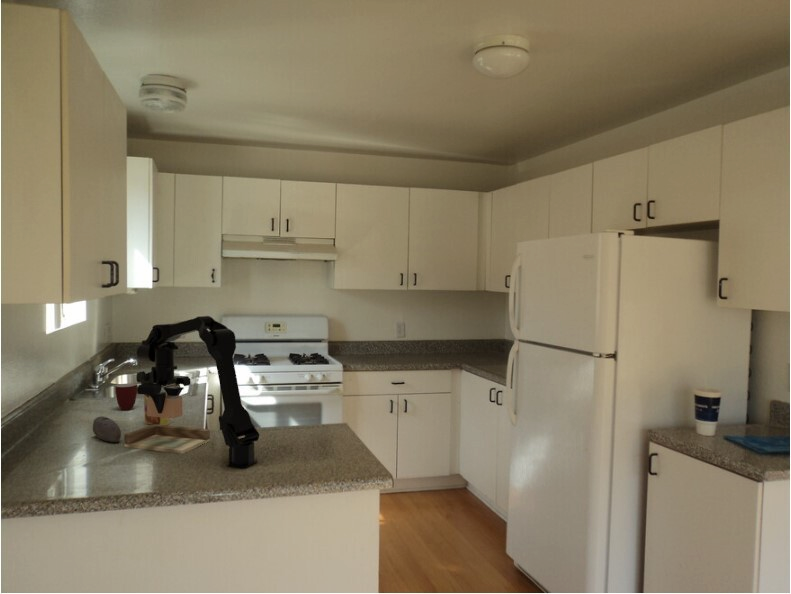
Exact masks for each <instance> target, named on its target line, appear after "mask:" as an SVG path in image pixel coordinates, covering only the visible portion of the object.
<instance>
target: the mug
mask: <svg viewBox="0 0 791 594" xmlns="http://www.w3.org/2000/svg"><path fill="white" fill-rule="evenodd" d="M114 387H115V388H114V389H115V391H114V392H115V396H116V398H115V399H116V401H117V405H118V407H119V409H120V410H121V411H126V412H127V411H131V410H133V408H134V406H135V404H136V400H137V395H138V394H137V387H138V384H137V383H120V384H116V385H115V386H114Z"/></svg>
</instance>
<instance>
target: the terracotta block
mask: <svg viewBox="0 0 791 594" xmlns="http://www.w3.org/2000/svg"><path fill="white" fill-rule="evenodd" d="M183 403H184V402H183V396H181V395H179V396H168V395H166V397H165V402H164V407H163V411H162V413H161V414H159V413H158V411H157V409H156V406H155V404H154V401H153V399H152V398H151V397H147V416H153V417H163V418H169V419H175V418H178V417H182V416H183V414H184V413H183V412H184V411H183V410H184V409H183V408H184V407H183Z"/></svg>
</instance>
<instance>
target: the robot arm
mask: <svg viewBox="0 0 791 594" xmlns="http://www.w3.org/2000/svg"><path fill="white" fill-rule="evenodd" d="M195 332H198V335H199V339H200V340H201V341H202V342H204V344H205V345H206V349H207V352H208V354H209V355H210V356H211V358H212V359H213V360H214V362H215V366H216V369H217V370H216V371H217V375H218V376H217V377H218V381H219V386H220V387H219V388H220V392H221V397H222V402H223V409H224V410H223V413H222V415H219V416H218V422H219V425H220V428H219V431H221V433H222V436H223V439H224V444H225V446H226V447H228V463H227V464H226V466H227V467H234V468H243V469H247V468H249V467H251V466H252V465H254V464H255V463H257V462H258V460H257V459H255V442H258V441H259V440H260V439H259V438H260V433H259V431H258V430H257V429H256V427H255V426H254V424H253V423H252V419H251V416H250V414H249V412H248V411H247V409H246V408H245V407H244V406H243V403H242V400H241V395H240V389H239V383H238V377H237V374H236V368H235V362H234V355H235V352H236V349H237V343H236V335H235V332H234V331H233V330H231V329H230V328H228V327H227V326H226V325H225V324H222V323H220V322H219V321H216V319H214V318H213V317H212V316H210V315H204V316H196V317H195V318H191V319H188V320H184V321H180V322H176V323H175V322H174V323H162V324H154V325H153V326H152V329H151V330H150V332H149V334H148V336H147V338H146V339H144V340H142V341H141V344H140V345H139V346H138V348H137V349H136V356H137V357H136V358H137V359H138V360H140V361H143V362H151V363H154V366H152V367H151V371H149V372H145V371H139V372H136V379H135V380H136V382H137V383H139V385H137V395H143V396H144V395H149V396H150V397H151V398H152V399H153V401H154V404H155V406H156V409H157V411H158V413H159V414H161V413H162V411H163V407H164V402H165V397H166V393H167V395H168V396H181V395H180V394H181V393H182V391H183V390H184V387H188V386H190V385H191V378H190V377H189V376H188V375H175V370H177V369H178V365H175V350H179V348H180V347H179V345H177V344H175V342H174V341H177V340H178V339H180V338H181V336H183V335H187V334H191V333H195ZM154 383H156V384H154ZM162 385H163V386H162ZM181 385H182V386H184V387H182V386H181ZM163 388H164V390H165V391H166V393H165V392H163Z"/></svg>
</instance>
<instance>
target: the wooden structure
mask: <svg viewBox="0 0 791 594" xmlns="http://www.w3.org/2000/svg"><path fill="white" fill-rule="evenodd" d="M210 431H211V430H210V429H208V428H207V429H206V428H197V427H186V426H177V425H158V424H154V425H148V426H144V427H143V428H140V429H139V428H138V429H137V430H133V431H130V432H128V433H125V434H124V435H123V437H124V446H123V447H124V448H128V449H129V448H130V449H138V450H149V451H156V452H164V453H165V452H166V453H174V454H185V453H187V452H190V451H192V450H194V449H196V448H198V446H199V447H200V445H201V446H202V444H203V445H205V444H207V442H208V443H210V442H211V436H210V435H211V432H210ZM209 441H210V442H209ZM204 443H205V444H204Z"/></svg>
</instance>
